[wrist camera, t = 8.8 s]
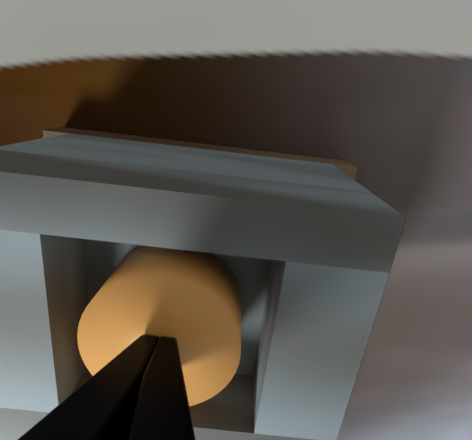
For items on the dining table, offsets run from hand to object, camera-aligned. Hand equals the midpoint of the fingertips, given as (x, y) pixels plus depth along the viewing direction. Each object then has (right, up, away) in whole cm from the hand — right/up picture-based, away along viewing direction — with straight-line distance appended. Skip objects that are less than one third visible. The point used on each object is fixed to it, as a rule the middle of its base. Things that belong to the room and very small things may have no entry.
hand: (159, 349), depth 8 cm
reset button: (0, +1, +3) cm, 3 cm away
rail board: (-1, -8, +11) cm, 13 cm away
